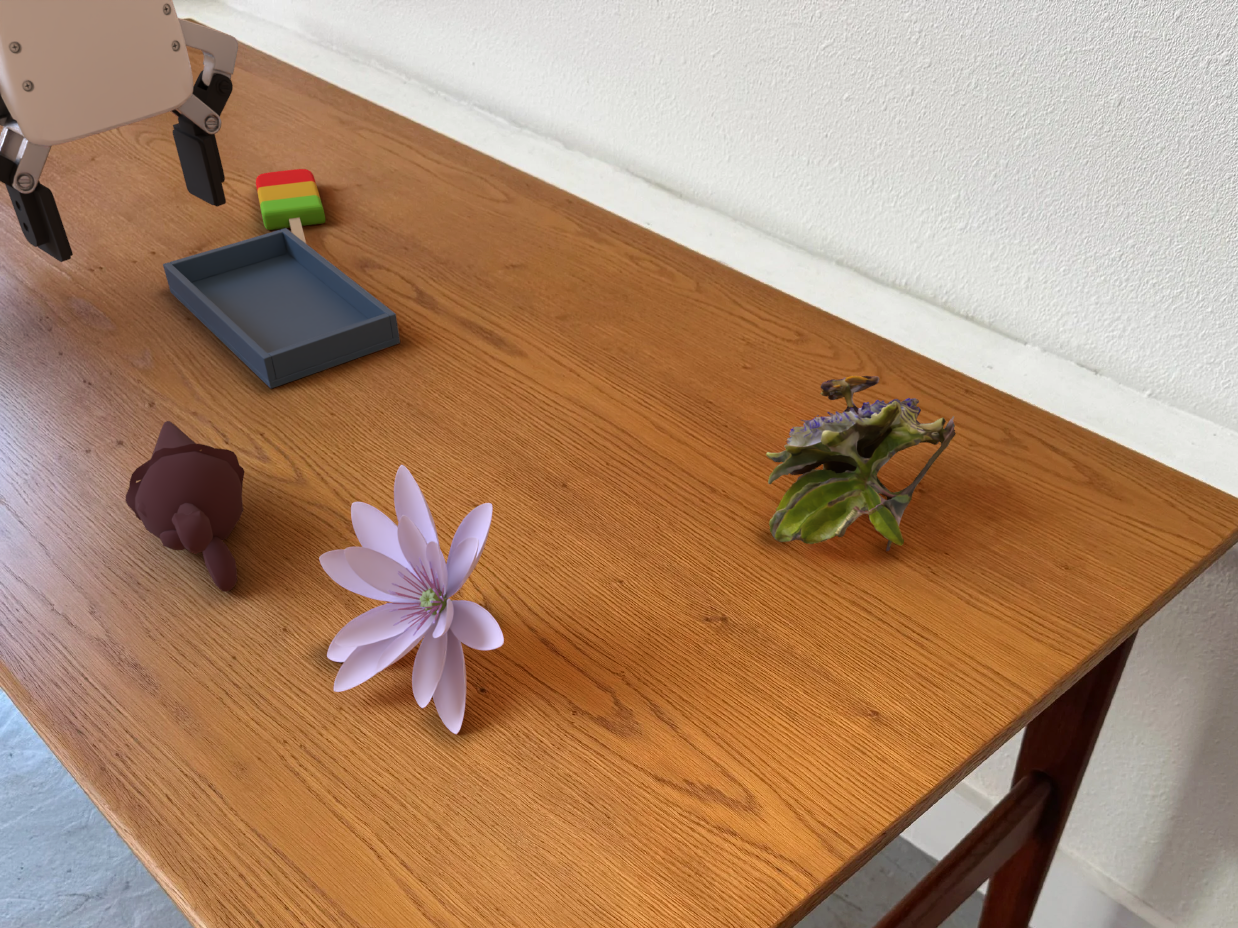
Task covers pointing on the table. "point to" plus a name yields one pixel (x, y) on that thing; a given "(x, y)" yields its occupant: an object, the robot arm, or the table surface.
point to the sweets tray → (281, 306)
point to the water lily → (412, 599)
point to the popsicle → (289, 200)
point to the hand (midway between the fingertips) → (134, 225)
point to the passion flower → (850, 465)
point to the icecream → (190, 499)
